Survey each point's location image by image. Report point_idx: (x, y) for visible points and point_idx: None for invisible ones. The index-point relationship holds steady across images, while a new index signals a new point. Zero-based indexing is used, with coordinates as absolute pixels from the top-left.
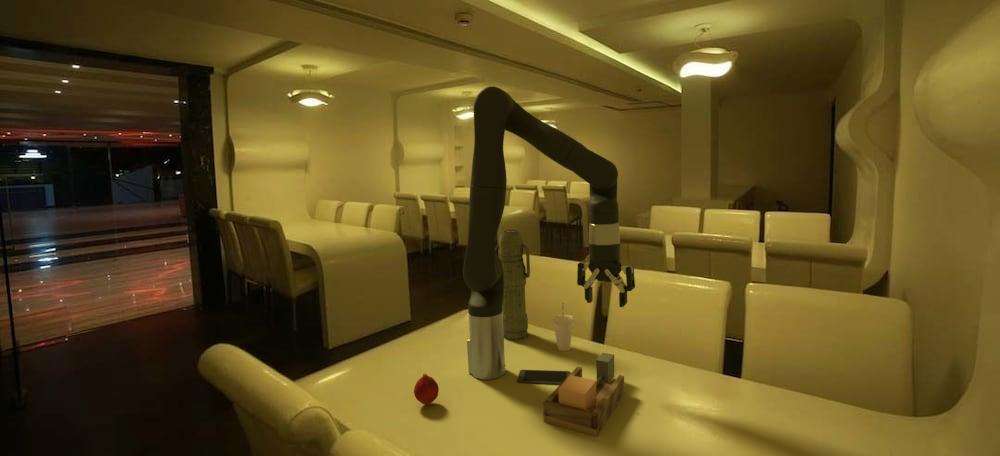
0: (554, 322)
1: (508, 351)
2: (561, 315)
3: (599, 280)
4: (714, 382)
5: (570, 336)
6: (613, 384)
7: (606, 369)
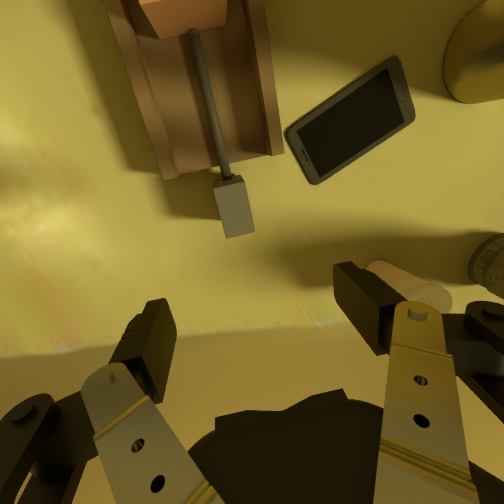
0: (436, 283)
1: (479, 186)
2: None
3: (328, 399)
4: (76, 319)
5: None
6: (154, 116)
7: (217, 184)
